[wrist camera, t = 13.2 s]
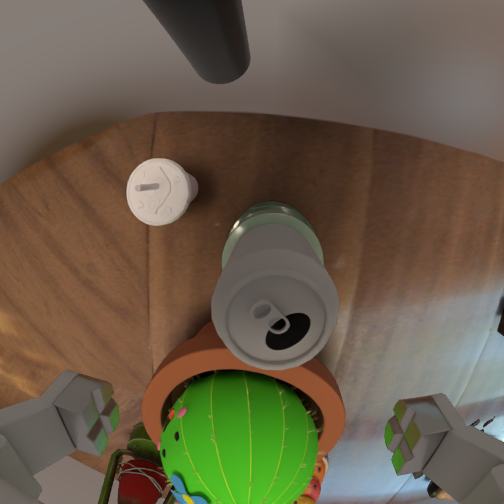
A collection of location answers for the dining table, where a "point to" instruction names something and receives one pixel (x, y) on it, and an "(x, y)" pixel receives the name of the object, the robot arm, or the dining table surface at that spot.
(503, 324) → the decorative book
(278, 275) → the can
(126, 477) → the lantern
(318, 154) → the dining table surface
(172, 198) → the smoothie
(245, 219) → the cup stack
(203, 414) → the potted cactus
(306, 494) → the stacking toy
